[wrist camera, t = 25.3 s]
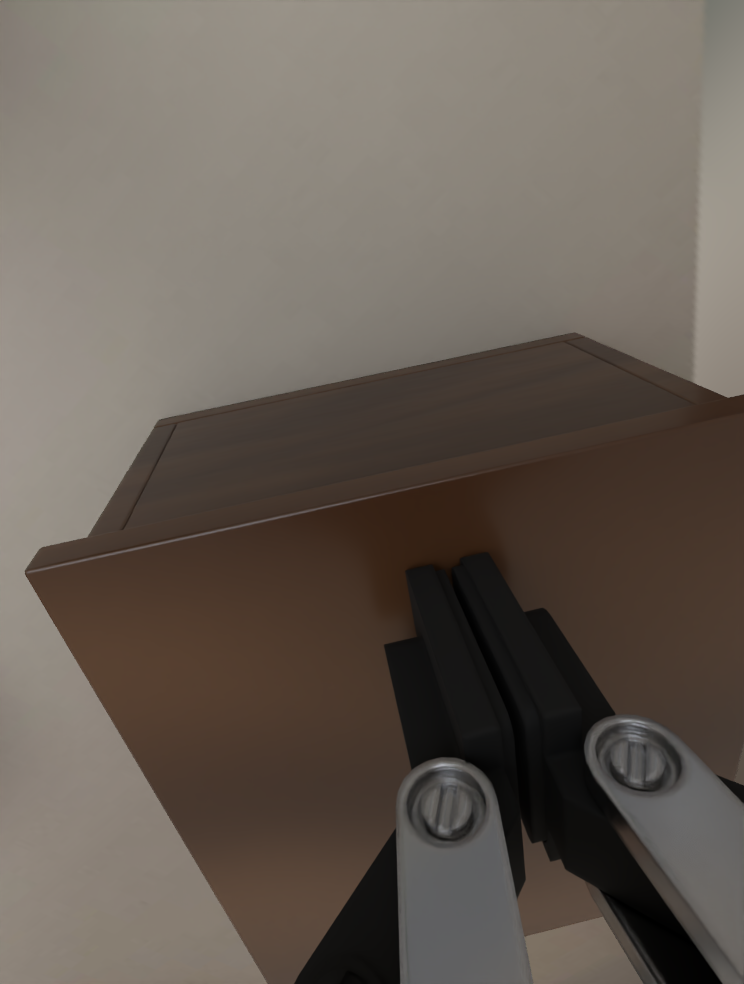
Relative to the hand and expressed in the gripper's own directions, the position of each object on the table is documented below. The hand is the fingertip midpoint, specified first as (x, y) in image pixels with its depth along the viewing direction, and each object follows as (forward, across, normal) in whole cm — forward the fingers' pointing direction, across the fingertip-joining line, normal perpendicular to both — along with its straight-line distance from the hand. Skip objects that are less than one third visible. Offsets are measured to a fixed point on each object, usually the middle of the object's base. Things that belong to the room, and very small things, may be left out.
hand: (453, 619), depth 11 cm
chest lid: (+1, 0, +6) cm, 6 cm away
